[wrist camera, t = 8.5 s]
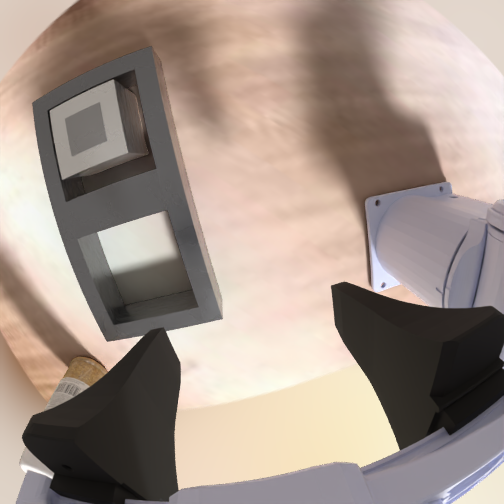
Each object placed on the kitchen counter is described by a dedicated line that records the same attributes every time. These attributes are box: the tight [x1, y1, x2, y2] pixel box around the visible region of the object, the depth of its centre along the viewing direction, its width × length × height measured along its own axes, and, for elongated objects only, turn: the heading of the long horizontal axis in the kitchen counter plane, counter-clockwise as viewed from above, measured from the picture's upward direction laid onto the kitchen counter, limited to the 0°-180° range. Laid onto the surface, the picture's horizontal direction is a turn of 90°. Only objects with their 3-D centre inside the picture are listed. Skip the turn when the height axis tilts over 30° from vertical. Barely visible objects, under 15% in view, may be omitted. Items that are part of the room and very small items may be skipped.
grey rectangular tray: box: [32, 46, 223, 342], centre depth 17 cm, size 9×18×3 cm, turn 13°
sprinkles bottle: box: [19, 357, 107, 478], centre depth 16 cm, size 5×5×13 cm
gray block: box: [50, 79, 148, 180], centre depth 15 cm, size 4×4×5 cm
